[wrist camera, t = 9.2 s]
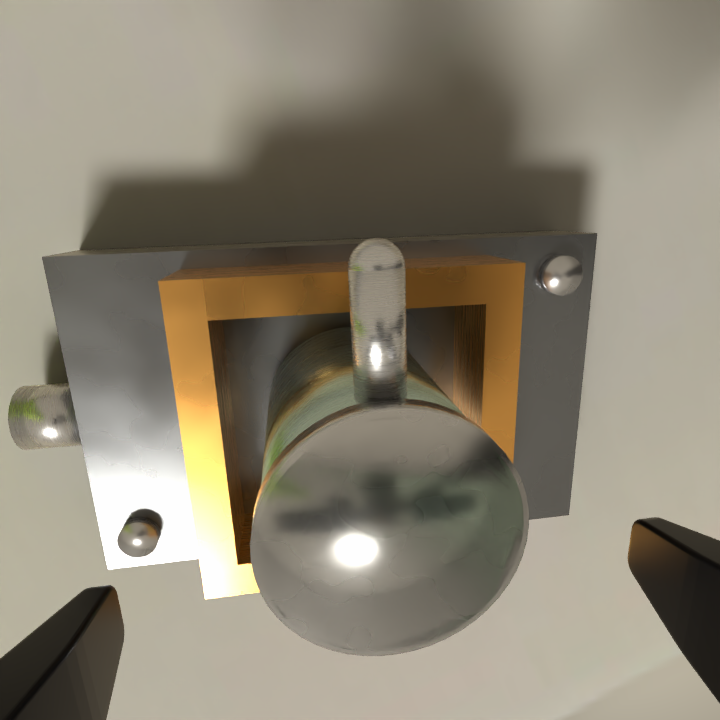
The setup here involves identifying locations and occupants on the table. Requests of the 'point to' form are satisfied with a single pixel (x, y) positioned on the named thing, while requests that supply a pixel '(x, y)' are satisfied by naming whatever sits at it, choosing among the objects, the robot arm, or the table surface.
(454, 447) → the spout can
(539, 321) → the grey orange socket fixture
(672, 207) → the table surface
